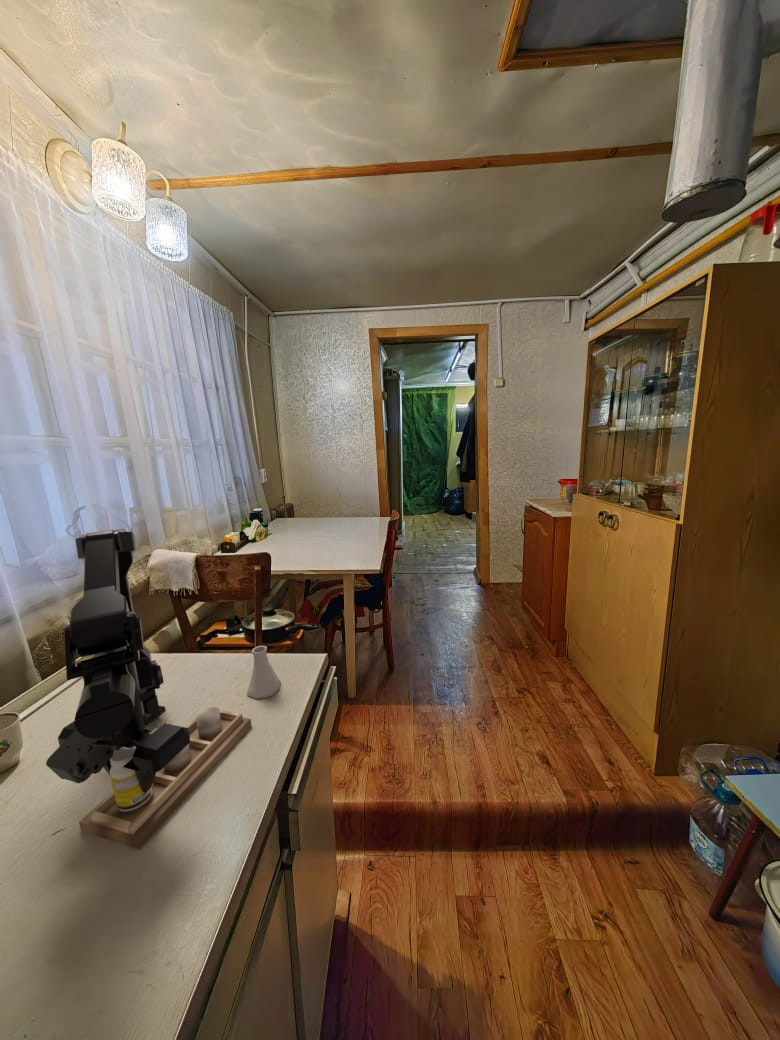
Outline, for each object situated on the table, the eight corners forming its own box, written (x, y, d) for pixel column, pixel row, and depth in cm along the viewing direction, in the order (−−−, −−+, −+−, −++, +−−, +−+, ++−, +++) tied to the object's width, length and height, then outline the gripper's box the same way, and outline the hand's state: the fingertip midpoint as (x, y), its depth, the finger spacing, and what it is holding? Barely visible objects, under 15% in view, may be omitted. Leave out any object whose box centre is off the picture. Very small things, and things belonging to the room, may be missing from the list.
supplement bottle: (129, 786, 59) (119, 739, 58) (160, 782, 60) (152, 736, 58) (109, 815, 55) (98, 764, 53) (143, 811, 55) (133, 761, 53)
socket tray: (80, 830, 55) (74, 801, 54) (205, 716, 78) (202, 695, 77) (139, 849, 52) (132, 819, 51) (251, 725, 75) (248, 702, 74)
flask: (271, 701, 82) (266, 658, 80) (241, 698, 83) (235, 656, 81) (286, 681, 89) (281, 641, 87) (258, 679, 90) (253, 640, 88)
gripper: (1, 721, 49) (28, 822, 52) (108, 747, 44) (131, 858, 47) (90, 673, 60) (108, 758, 62) (185, 689, 54) (200, 782, 57)
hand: (134, 786), depth 57 cm, fingers closed on supplement bottle, 5 cm apart
